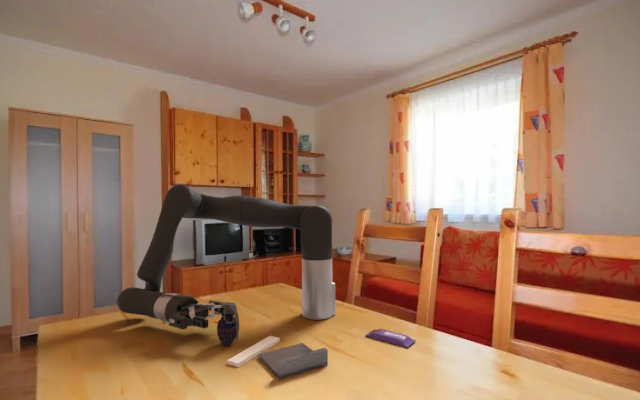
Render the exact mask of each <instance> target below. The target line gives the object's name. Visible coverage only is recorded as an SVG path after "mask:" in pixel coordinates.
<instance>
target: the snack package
mask: <svg viewBox="0 0 640 400" xmlns="http://www.w3.org/2000/svg"><path fill="white" fill-rule="evenodd" d="M365 336H366V337H368V338H370V339H373V340H378V341H381V342H385V343H388V344H392V345H395V346H399V347H402V348H405V347H406V348H409V347H410V346H411V345H413V343H415V342H416V341H417V340H416V339H413V338H411V337H410V336H409V335H407V334H403V333H401V332H400V333H399V332H396V331H391V330H387V329H384V328H376V329H373V330H371V331H369V332H368V333H366V334H365Z"/></svg>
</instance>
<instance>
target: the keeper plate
mask: <svg viewBox="0 0 640 400" xmlns="http://www.w3.org/2000/svg"><path fill="white" fill-rule="evenodd" d="M257 356H258V359H259V360H260V361H261V362H262V364H263V365H264V366H265V367H267V368H268V369H269V370H270V371H271V373H272V374H273V375H274V376H275V377H276V378H277V379H278V380H279V381H281V380H283V379H287V378H290V377H293V376H296V375H300V374H303V373H307V372H309V371H313V370H314V371H315V370H316V369H320V368H322V367H327V366H328V363H329V362H328V357H329V356H328V349H327V348H325V347H323V348H318V349H314V350H313V349H311V348H310V347H308V346H307V345H306V344H305V343H303V342H301V343H296V344H292V345H288V346H285V347H281V348H276V349H273V350H268V351H264V352H262V353H260V354H258V355H257Z"/></svg>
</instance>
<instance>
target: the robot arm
mask: <svg viewBox="0 0 640 400" xmlns="http://www.w3.org/2000/svg"><path fill="white" fill-rule="evenodd" d="M183 219H203V220H204V219H205V220H206V219H207V220H217V221H221V222H225V223H230V224H235V225H241V226H246V227H253V228H290V229H297V230H300V249H301V291H302V292H301V295H302V296H301V297H302V298H301V301H302V302H301V303H302V304H301V305H302V306H301V311H302V312H301V313H302V314H301V315H302V317H303V318H305V319H309V320H316V321H317V320H325V319H330V318H332V317H333V316H335V315H336V283H335V282H333V215H332V214H331V211H330V210H329V208H327V207H325V206H323V205H321V204H320V205H319V204H316V205H314V204H313V205H301V204H300V205H299V204H290V203H284V202H281V201H276V200H273V199H267V198H263V197H258V196H257V197H256V196H250V195H231V196H222V197H221V196H220V197H219V196H212V195H207V194H202V193H199V192H197V191H195V190H194V189H192V188H191V187H189V186H188V185H186V184H177V185H176V184H175V185H174V186H172V187H170V189H168V190H167V192H166V193H165V196H164V199H163V202H162V205H161V210H160V214H159V217H158V219H157V220H158V221H157V222H156V226H155V229H154V232H153V236H152V238H151V240H150V243H149V245H148V248H147V250H146V253H145V255H144V257H143V259H142V262H141V264H140V266H139V268H138V270H137V273H136V276H137V277H136V278H138V279H139V280H141V281H142V282H143V281H144V282H145V284H144V285H145V287H144V288H141V287H135V286H134V287H133V286H130V287H127V288H125V289H124V290H121V292H120V293H119V294H118V296H117V299H116V305H117V308H118V309H119V311H121V312H123V313H124V314H125V313H126V314H130V315H138V316H139V315H141V316H145V317H148V318H153V319H156V320H159V321H162V322H164V323H168V325H169V326H171V327H174V328H177V329H180V330H187V329H188V327H189V328H194V327H197V328H201V329H207V328H209V319H214V318H215V317H217V316H218V317H219V316H221V317H222V315H223V312H224V306H221V305H220V304H221V303H223V302H224V301H219V300H209V301H208V303H204V302H199V301H198V300H197V298H196V297H194V296H192V295H187V294H180V293H174V292H172V293H171V292H170V293H169V292H162V291H161V287H162V281H163V277H164V275H165V273H166V270H167V268H168V266H169V264H170V261H171V258H172V256H173V252H174V244H175V243H174V242H175V237H176V234H177V231H178V228H179V226H180V223H181V221H182V220H183ZM210 312H211V313H210ZM209 313H210V314H209ZM233 316H234V317H235V315H234V314H233Z"/></svg>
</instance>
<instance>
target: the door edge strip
mask: <svg viewBox="0 0 640 400" xmlns="http://www.w3.org/2000/svg"><path fill="white" fill-rule="evenodd" d="M280 340H281V339H280V337H277V336H273V335H269V336H267V337H265V338H263V339H261V340H260V341H258V342H255V344H253V345H252V346H250V347H248V348H245V349H244V350H242V351H241V352H239V353H237V354H236V355H234V356H232V357H230V358H229V359H227V360H226V365H228V366H229V365H230V366H232V367H236V368H239V367H241V366H242V365H244V364H246V363H247V362H249V361H250V360H252V359H254V358H255V357H257V356H258V354H261V353H264V352H266V350H268V349H270V348H271V347H273V346H275V345H276V344H278V343H279V342H280Z"/></svg>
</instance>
